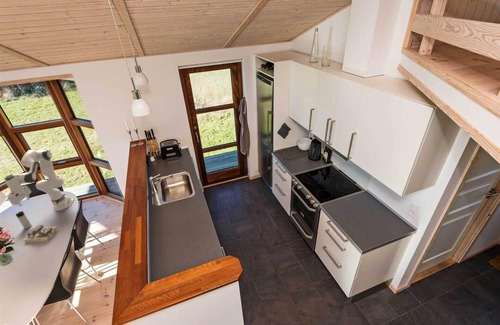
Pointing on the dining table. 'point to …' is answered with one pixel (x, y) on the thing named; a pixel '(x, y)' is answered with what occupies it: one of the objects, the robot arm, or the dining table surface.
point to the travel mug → (23, 220)
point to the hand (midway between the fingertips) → (24, 202)
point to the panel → (41, 238)
